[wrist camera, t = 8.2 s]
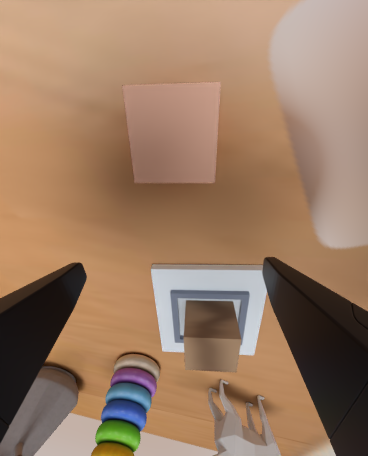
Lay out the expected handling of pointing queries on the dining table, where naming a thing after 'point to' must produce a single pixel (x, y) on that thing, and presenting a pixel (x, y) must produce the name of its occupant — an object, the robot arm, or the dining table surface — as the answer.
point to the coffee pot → (40, 412)
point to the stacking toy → (126, 405)
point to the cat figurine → (240, 430)
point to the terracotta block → (173, 131)
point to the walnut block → (211, 336)
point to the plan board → (208, 298)
